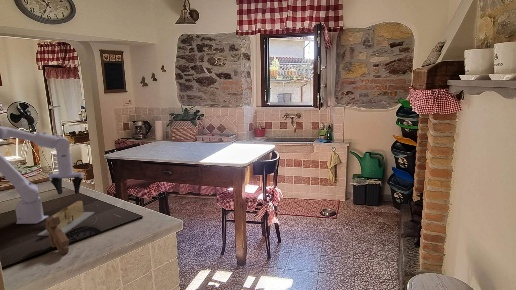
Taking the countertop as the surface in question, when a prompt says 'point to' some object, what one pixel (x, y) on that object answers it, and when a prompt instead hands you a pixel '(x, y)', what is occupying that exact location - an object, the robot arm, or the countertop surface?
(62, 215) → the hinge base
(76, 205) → the tan block
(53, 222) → the figurine
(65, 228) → the board
